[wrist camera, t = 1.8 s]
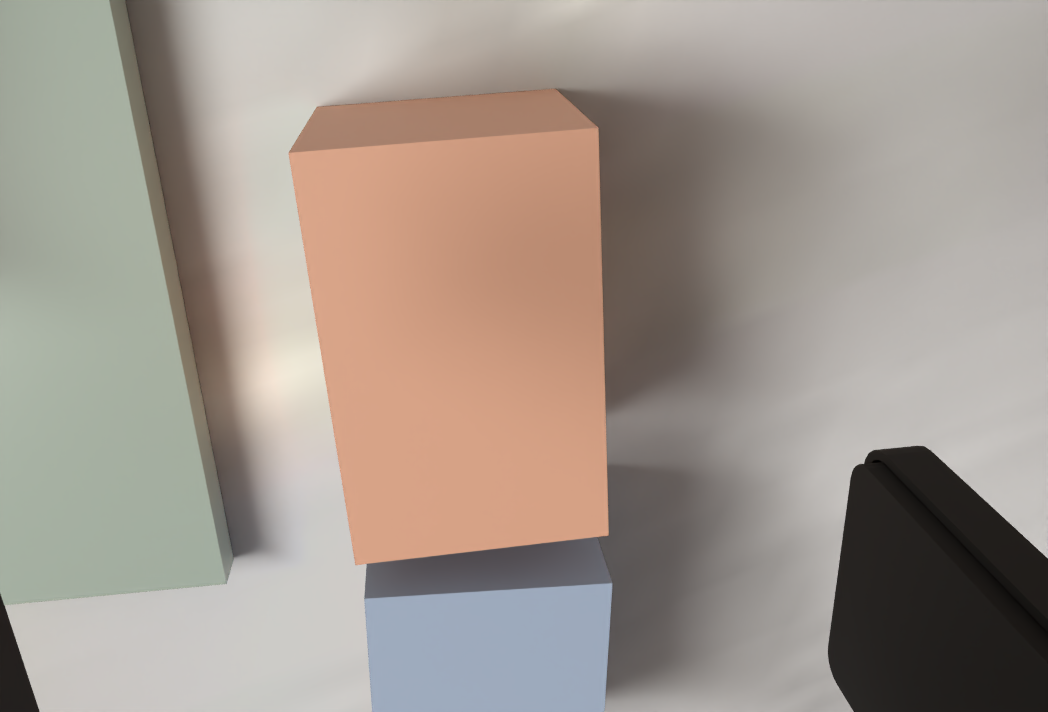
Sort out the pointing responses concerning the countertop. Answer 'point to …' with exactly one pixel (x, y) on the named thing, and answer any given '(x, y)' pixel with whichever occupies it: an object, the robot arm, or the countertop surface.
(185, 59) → the countertop surface
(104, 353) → the build plate
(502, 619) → the slate brick
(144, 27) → the countertop surface
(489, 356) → the terracotta brick
